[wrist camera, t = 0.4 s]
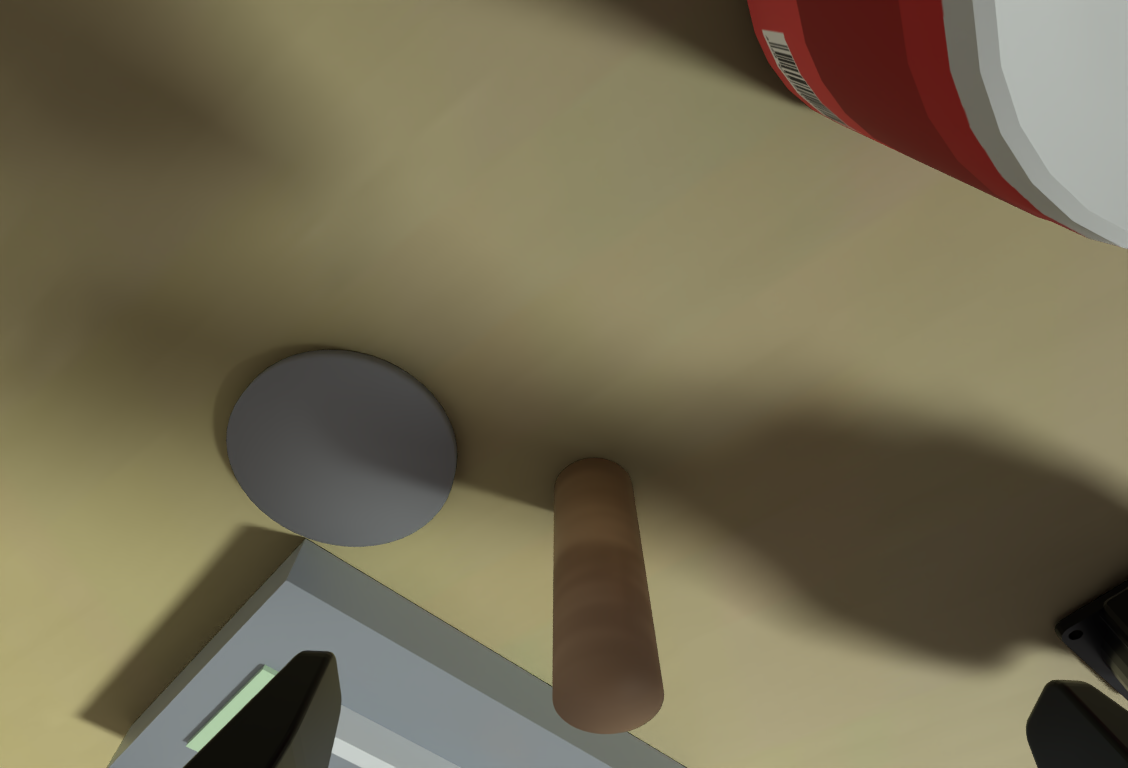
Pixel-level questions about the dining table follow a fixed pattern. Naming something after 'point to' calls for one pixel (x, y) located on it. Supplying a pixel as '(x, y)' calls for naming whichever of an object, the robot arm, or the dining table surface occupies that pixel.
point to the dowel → (601, 604)
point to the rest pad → (342, 448)
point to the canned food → (975, 92)
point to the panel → (373, 684)
